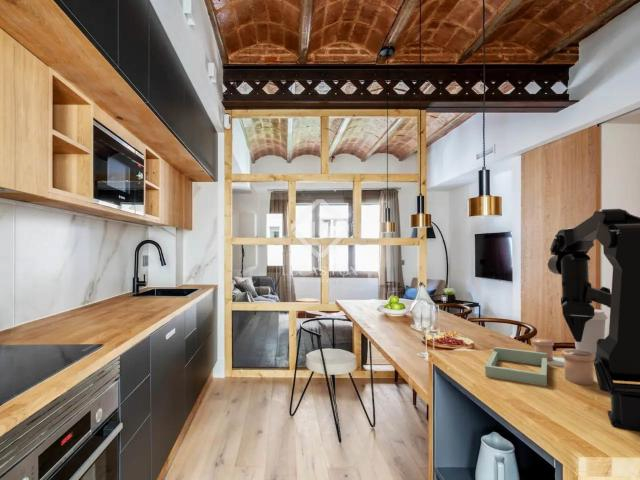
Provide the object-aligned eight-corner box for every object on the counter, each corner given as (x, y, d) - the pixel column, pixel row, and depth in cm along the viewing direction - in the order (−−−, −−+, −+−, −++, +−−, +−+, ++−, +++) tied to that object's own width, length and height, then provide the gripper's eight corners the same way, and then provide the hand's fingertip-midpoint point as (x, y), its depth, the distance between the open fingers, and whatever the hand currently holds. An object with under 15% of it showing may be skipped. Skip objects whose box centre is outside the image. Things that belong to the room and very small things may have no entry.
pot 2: (598, 389, 86) (596, 358, 86) (563, 383, 90) (561, 354, 90) (595, 379, 92) (593, 351, 92) (562, 375, 96) (561, 347, 96)
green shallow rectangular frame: (546, 387, 88) (546, 371, 88) (485, 377, 96) (485, 362, 96) (547, 367, 103) (546, 353, 103) (494, 359, 111) (494, 346, 111)
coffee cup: (573, 360, 108) (571, 311, 109) (568, 352, 117) (566, 307, 117) (613, 364, 104) (610, 313, 104) (605, 355, 112) (603, 308, 113)
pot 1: (554, 362, 105) (553, 343, 105) (532, 359, 108) (531, 341, 108) (554, 357, 109) (553, 339, 109) (533, 355, 112) (532, 337, 113)
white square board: (572, 370, 100) (572, 367, 100) (523, 363, 106) (523, 361, 106) (570, 360, 109) (570, 358, 109) (525, 354, 115) (525, 352, 115)
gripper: (621, 281, 79) (624, 351, 79) (609, 275, 95) (612, 333, 95) (561, 280, 86) (563, 344, 85) (559, 274, 101) (561, 329, 101)
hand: (577, 337), depth 91 cm, fingers open, 9 cm apart
